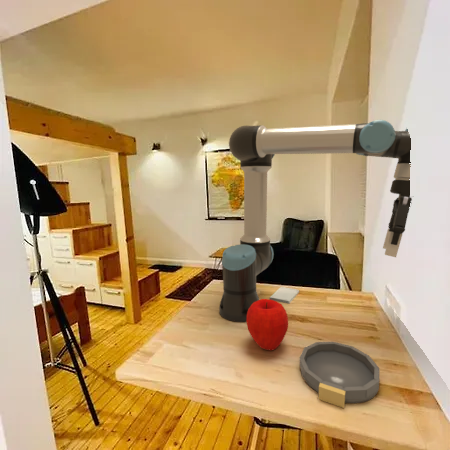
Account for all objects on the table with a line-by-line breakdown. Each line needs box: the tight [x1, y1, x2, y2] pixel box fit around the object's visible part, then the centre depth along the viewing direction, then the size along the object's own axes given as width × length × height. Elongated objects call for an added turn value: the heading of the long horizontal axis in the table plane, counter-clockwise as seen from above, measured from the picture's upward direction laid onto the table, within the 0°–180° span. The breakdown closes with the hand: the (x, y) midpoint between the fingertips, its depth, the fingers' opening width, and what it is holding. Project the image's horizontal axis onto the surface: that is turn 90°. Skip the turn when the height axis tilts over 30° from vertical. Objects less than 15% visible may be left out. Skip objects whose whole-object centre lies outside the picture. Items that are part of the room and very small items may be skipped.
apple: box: [245, 298, 289, 351], centre depth 75 cm, size 12×12×13 cm
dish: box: [299, 341, 381, 409], centre depth 63 cm, size 17×18×3 cm
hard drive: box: [269, 286, 300, 305], centre depth 109 cm, size 2×8×12 cm
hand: (388, 252), depth 80 cm, fingers open, 13 cm apart
